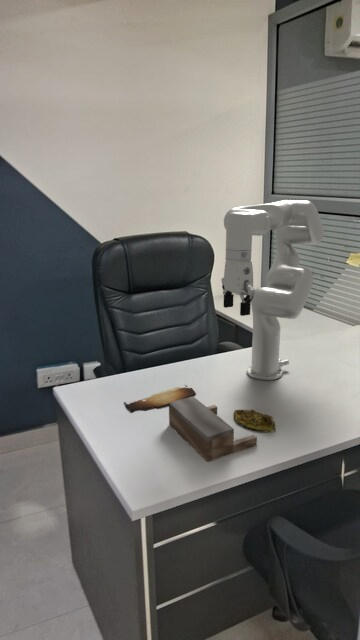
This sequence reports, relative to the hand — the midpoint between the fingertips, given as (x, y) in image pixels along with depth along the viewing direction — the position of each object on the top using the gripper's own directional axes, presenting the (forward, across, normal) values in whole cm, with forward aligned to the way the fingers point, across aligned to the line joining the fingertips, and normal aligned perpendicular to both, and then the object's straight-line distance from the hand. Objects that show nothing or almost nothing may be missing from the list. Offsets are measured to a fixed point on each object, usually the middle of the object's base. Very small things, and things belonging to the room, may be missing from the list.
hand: (236, 310), depth 146 cm
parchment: (+30, +10, +21) cm, 38 cm away
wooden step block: (+30, -16, +17) cm, 38 cm away
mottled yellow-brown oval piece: (+30, -16, +2) cm, 34 cm away
